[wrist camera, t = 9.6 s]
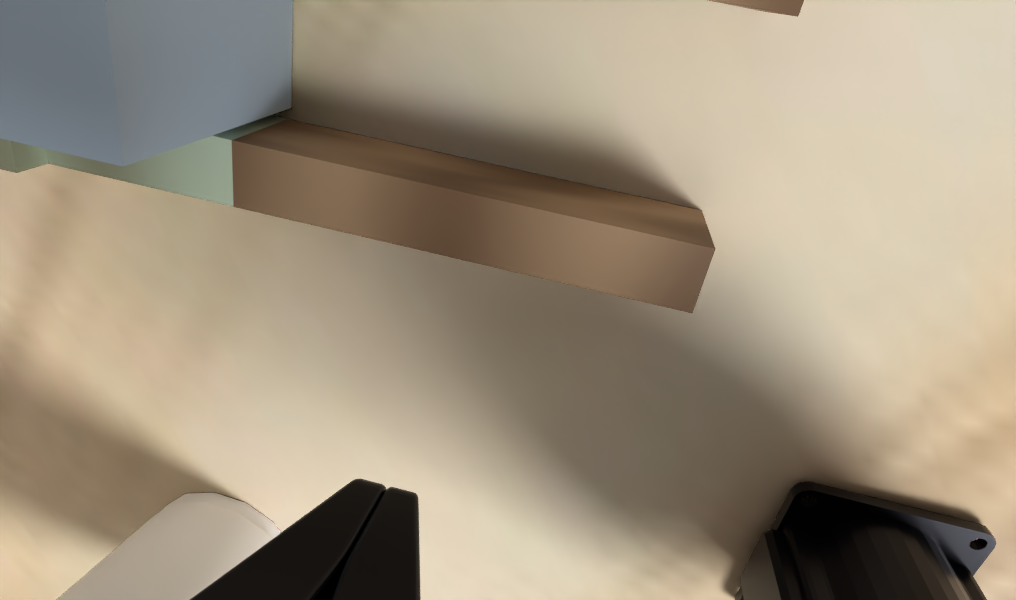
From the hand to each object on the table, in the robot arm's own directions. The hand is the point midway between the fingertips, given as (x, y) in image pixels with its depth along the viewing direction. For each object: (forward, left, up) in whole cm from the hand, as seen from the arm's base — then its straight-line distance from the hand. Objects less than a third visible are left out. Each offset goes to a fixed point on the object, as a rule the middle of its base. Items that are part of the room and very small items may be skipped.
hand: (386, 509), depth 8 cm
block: (+10, -4, -12) cm, 16 cm away
